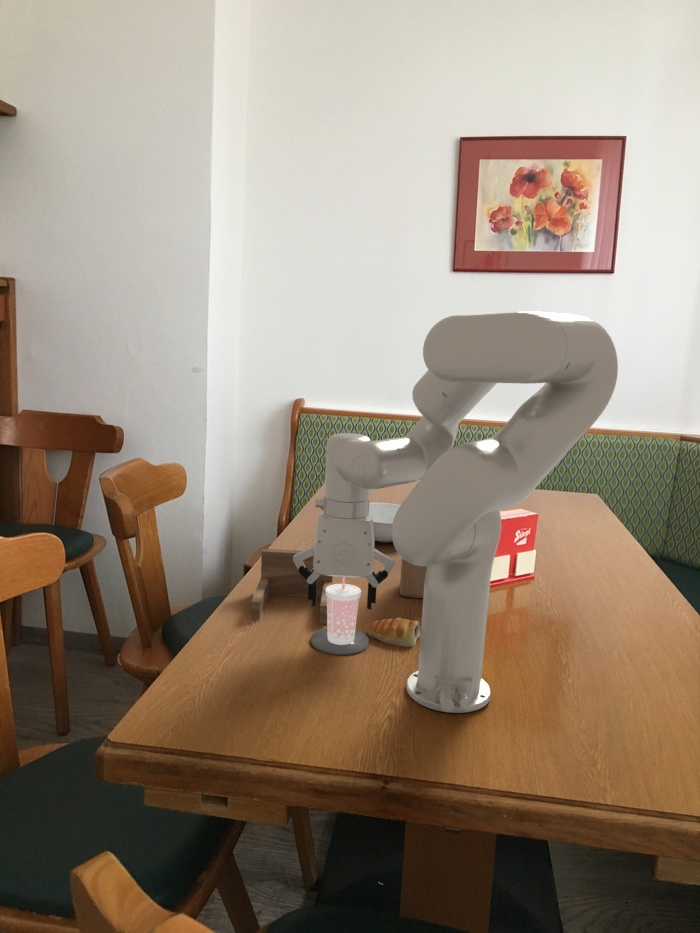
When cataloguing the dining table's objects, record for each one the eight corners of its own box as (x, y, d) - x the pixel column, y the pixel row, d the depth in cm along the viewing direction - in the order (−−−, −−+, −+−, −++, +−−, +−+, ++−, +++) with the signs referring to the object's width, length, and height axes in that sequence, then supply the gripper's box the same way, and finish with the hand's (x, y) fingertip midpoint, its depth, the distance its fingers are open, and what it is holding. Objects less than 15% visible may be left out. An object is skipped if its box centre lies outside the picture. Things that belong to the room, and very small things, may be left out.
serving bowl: (427, 552, 183) (429, 525, 182) (341, 547, 183) (343, 520, 182) (420, 528, 204) (422, 504, 202) (343, 524, 204) (345, 500, 202)
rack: (328, 624, 137) (330, 577, 135) (250, 619, 137) (251, 573, 136) (331, 595, 152) (333, 552, 150) (261, 591, 152) (262, 548, 150)
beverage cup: (365, 639, 130) (370, 562, 127) (341, 650, 125) (345, 570, 123) (339, 628, 134) (343, 553, 131) (315, 638, 129) (319, 561, 127)
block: (448, 603, 150) (455, 506, 146) (398, 597, 152) (404, 501, 148) (451, 586, 160) (458, 495, 156) (405, 581, 162) (411, 490, 158)
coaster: (368, 656, 125) (368, 653, 125) (308, 653, 125) (308, 649, 125) (368, 631, 135) (368, 628, 135) (312, 628, 135) (313, 625, 135)
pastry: (361, 641, 131) (362, 620, 131) (371, 627, 138) (372, 607, 137) (414, 650, 129) (415, 629, 128) (421, 635, 135) (423, 615, 134)
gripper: (292, 510, 122) (288, 610, 125) (399, 516, 121) (392, 616, 125) (296, 499, 129) (293, 594, 132) (397, 505, 129) (391, 599, 132)
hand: (341, 604), depth 129 cm, fingers open, 9 cm apart
